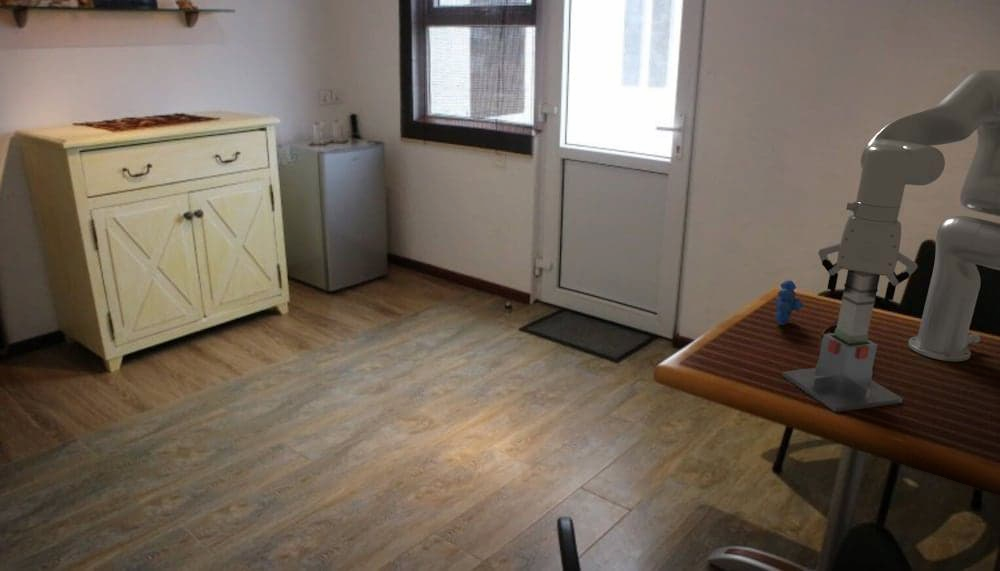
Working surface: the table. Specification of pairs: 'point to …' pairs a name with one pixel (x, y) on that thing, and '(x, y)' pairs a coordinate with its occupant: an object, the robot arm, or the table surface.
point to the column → (856, 308)
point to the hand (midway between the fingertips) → (858, 297)
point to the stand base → (843, 377)
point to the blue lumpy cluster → (786, 302)
